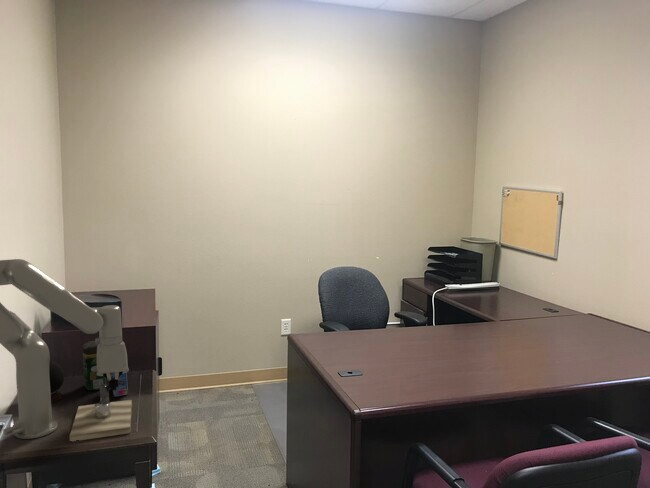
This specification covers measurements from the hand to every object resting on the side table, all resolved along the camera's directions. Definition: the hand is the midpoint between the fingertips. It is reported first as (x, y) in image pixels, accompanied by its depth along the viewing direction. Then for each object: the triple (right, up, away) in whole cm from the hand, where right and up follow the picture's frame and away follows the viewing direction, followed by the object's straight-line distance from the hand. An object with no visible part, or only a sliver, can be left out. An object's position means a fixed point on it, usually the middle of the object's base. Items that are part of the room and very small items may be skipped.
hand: (113, 389), depth 187 cm
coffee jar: (-17, -6, +24) cm, 30 cm away
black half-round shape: (-30, -7, +11) cm, 33 cm away
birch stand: (0, -9, -9) cm, 12 cm away
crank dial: (-1, -6, -5) cm, 8 cm away
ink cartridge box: (-5, -6, +18) cm, 20 cm away
